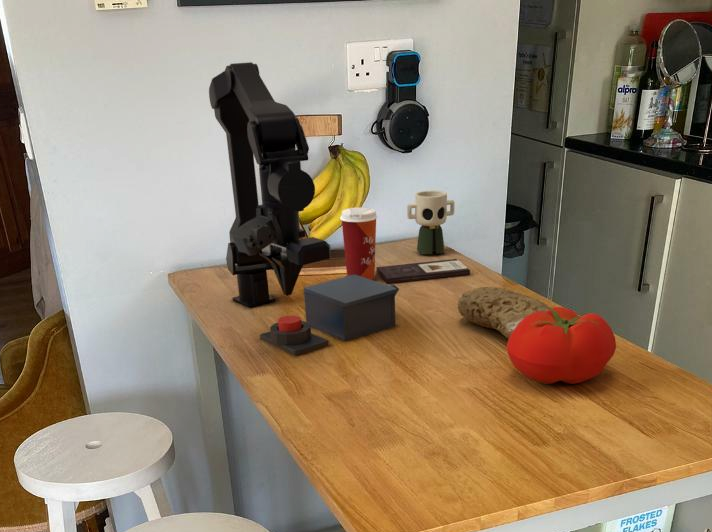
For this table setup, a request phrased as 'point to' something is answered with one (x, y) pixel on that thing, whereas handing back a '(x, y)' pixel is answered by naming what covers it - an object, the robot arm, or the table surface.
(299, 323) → the red button
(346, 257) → the paper cup
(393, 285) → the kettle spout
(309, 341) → the push button switch
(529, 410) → the table surface
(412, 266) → the chocolate bar
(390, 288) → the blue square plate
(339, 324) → the storage box
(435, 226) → the character mug
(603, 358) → the tomato
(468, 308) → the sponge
